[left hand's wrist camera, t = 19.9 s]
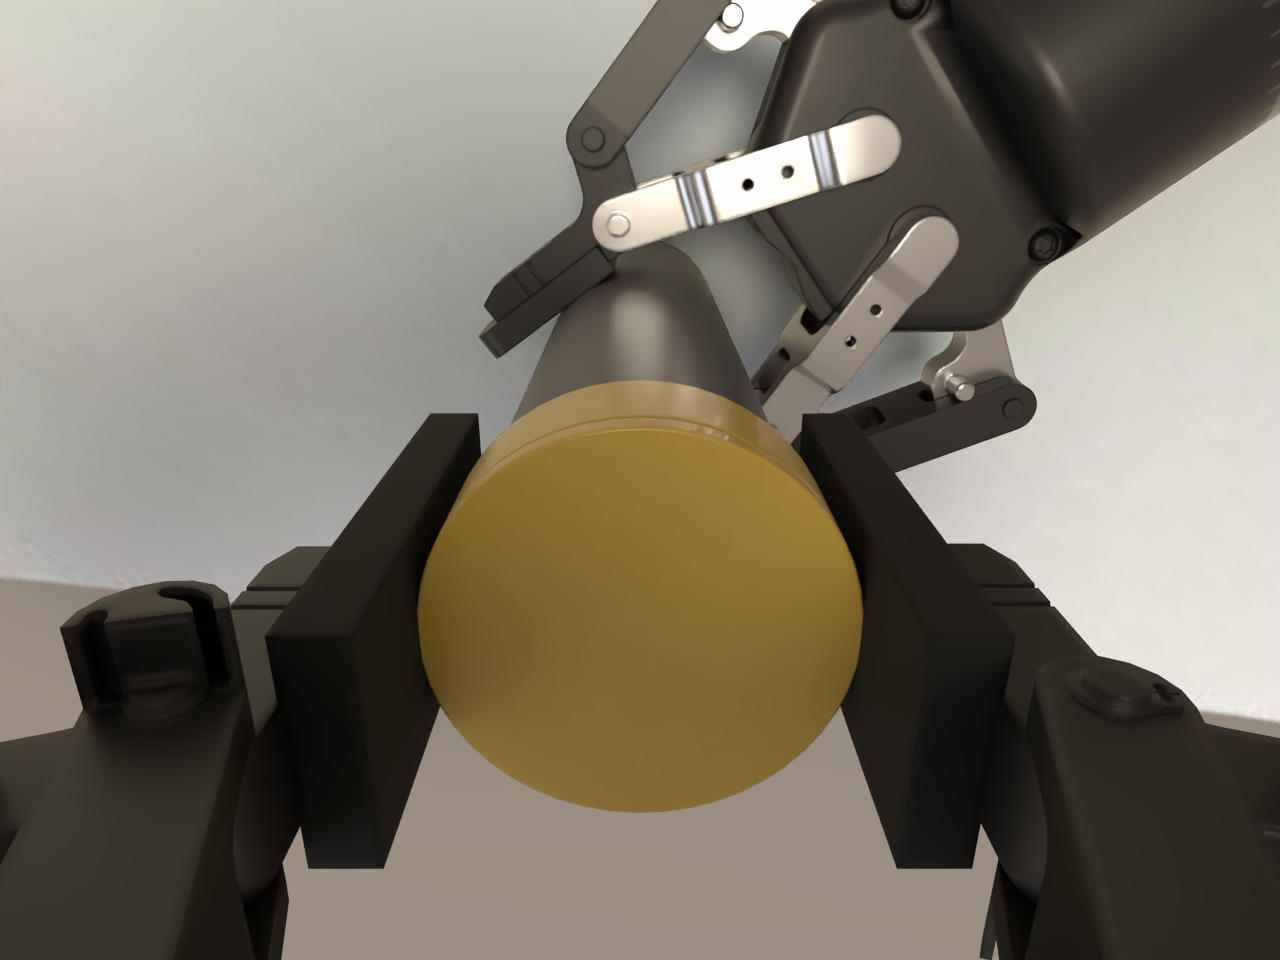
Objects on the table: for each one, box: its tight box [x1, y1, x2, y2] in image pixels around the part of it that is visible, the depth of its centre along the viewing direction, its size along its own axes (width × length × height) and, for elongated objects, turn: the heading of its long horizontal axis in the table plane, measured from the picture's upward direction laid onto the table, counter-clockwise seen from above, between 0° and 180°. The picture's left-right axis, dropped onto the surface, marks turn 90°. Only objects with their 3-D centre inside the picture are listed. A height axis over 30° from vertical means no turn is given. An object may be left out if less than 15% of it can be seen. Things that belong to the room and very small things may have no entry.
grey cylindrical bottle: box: [511, 241, 770, 425], centre depth 19 cm, size 5×5×19 cm
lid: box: [417, 380, 864, 813], centre depth 11 cm, size 5×5×2 cm
